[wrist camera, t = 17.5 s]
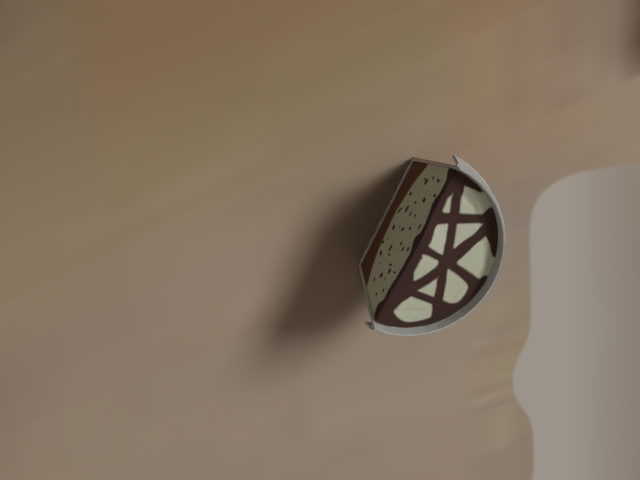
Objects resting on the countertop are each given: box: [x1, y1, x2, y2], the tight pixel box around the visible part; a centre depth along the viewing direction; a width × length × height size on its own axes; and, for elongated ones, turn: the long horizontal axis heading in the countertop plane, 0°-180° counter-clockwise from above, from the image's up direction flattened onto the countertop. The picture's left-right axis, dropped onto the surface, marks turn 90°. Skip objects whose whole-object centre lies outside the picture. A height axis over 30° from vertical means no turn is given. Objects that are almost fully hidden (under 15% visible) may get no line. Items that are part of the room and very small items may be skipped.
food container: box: [358, 155, 505, 336], centre depth 41 cm, size 12×6×10 cm, turn 155°
